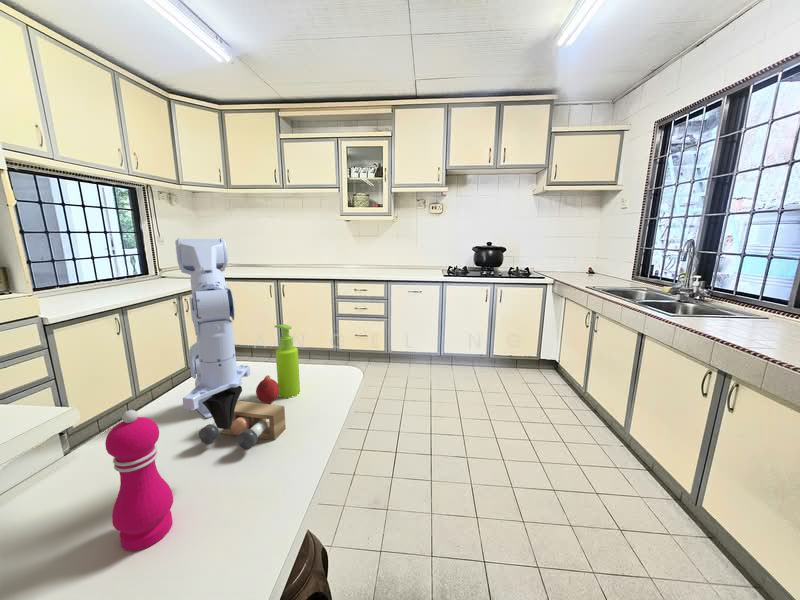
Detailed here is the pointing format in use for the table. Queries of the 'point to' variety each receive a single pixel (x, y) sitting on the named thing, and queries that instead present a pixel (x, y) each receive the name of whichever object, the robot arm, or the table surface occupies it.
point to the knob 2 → (251, 435)
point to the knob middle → (240, 425)
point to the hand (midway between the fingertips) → (224, 426)
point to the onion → (267, 390)
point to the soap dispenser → (287, 364)
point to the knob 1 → (209, 433)
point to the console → (261, 417)
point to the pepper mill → (139, 483)
